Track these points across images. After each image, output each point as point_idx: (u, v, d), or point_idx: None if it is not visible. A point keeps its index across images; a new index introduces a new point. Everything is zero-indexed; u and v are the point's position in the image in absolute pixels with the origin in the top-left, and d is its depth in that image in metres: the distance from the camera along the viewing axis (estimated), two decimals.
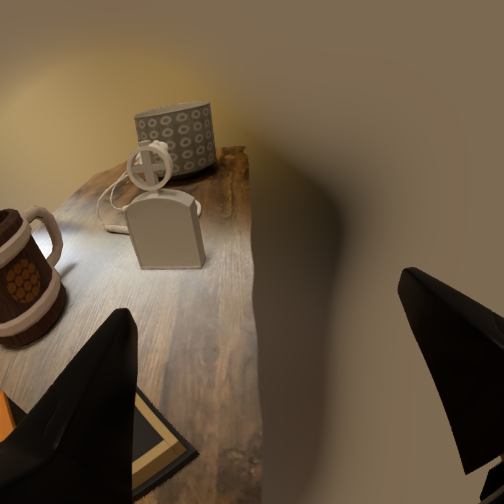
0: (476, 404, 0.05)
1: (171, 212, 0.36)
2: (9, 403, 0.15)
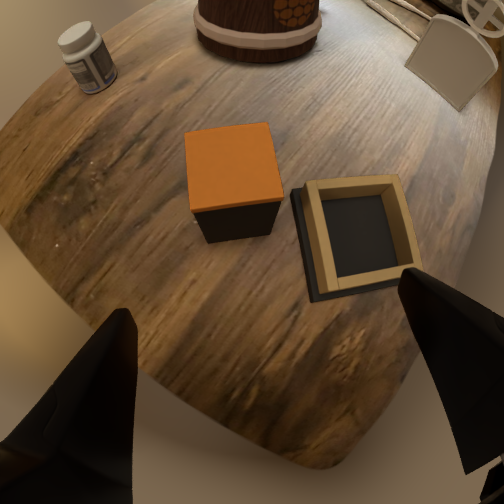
0: (476, 403, 0.05)
1: (477, 59, 0.20)
2: None
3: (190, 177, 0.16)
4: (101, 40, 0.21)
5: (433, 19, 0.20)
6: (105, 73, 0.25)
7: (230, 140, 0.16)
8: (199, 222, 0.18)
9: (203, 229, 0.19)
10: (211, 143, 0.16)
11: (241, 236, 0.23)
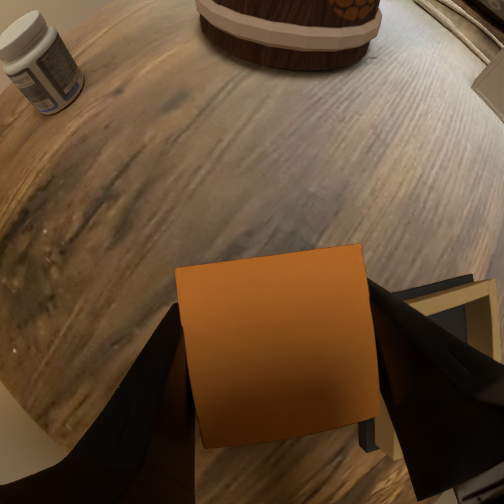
0: (423, 431, 0.05)
1: None
2: None
3: (197, 386, 0.07)
4: (55, 37, 0.12)
5: None
6: (64, 85, 0.16)
7: (282, 296, 0.08)
8: None
9: None
10: (239, 303, 0.07)
11: None
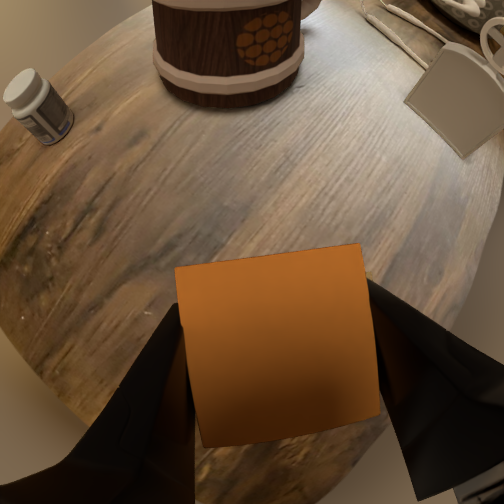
0: (423, 431, 0.05)
1: (492, 103, 0.17)
2: None
3: (197, 385, 0.07)
4: (48, 89, 0.19)
5: (443, 50, 0.17)
6: (58, 125, 0.22)
7: (282, 296, 0.08)
8: None
9: None
10: (238, 303, 0.07)
11: None
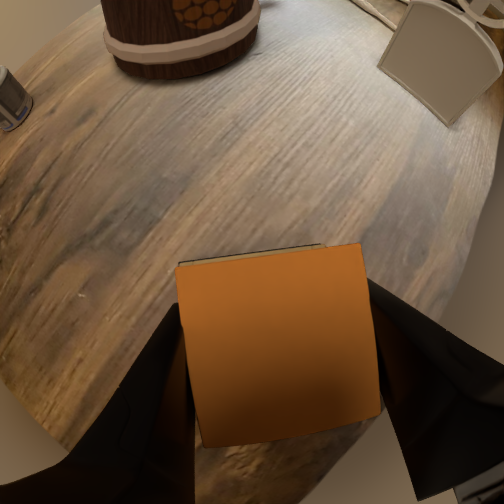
0: (423, 431, 0.05)
1: (475, 57, 0.14)
2: None
3: (197, 385, 0.07)
4: (5, 76, 0.16)
5: (412, 3, 0.14)
6: (15, 110, 0.19)
7: (282, 296, 0.08)
8: None
9: None
10: (239, 303, 0.07)
11: None
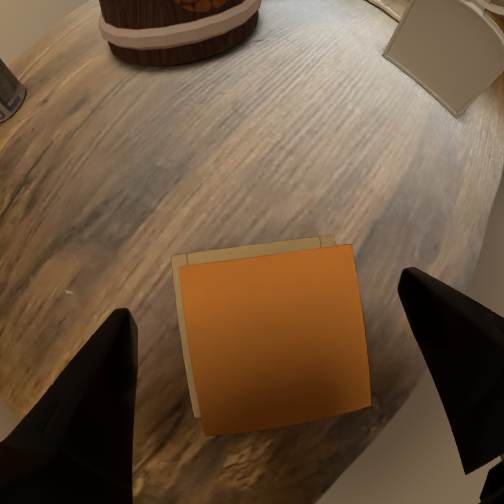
0: (476, 404, 0.05)
1: (484, 45, 0.13)
2: None
3: (199, 376, 0.08)
4: None
5: None
6: (7, 100, 0.18)
7: (278, 293, 0.08)
8: None
9: None
10: (238, 299, 0.08)
11: None
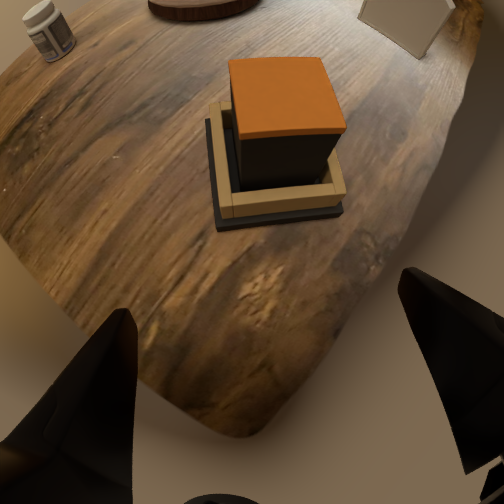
0: (476, 404, 0.05)
1: (429, 0, 0.17)
2: None
3: (238, 101, 0.13)
4: (59, 14, 0.19)
5: None
6: (63, 42, 0.23)
7: (282, 69, 0.13)
8: (243, 158, 0.15)
9: (243, 171, 0.16)
10: (260, 70, 0.13)
11: None
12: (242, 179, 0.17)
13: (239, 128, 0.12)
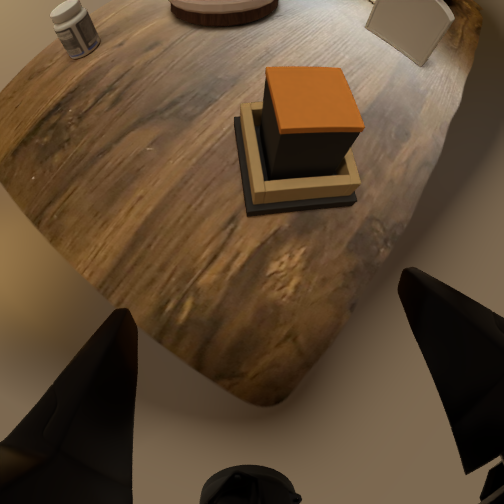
0: (476, 404, 0.05)
1: (431, 12, 0.20)
2: None
3: (277, 102, 0.15)
4: (86, 12, 0.22)
5: None
6: (89, 40, 0.25)
7: (310, 77, 0.16)
8: (278, 150, 0.17)
9: (276, 161, 0.19)
10: (293, 77, 0.16)
11: None
12: (273, 169, 0.20)
13: (280, 124, 0.15)
